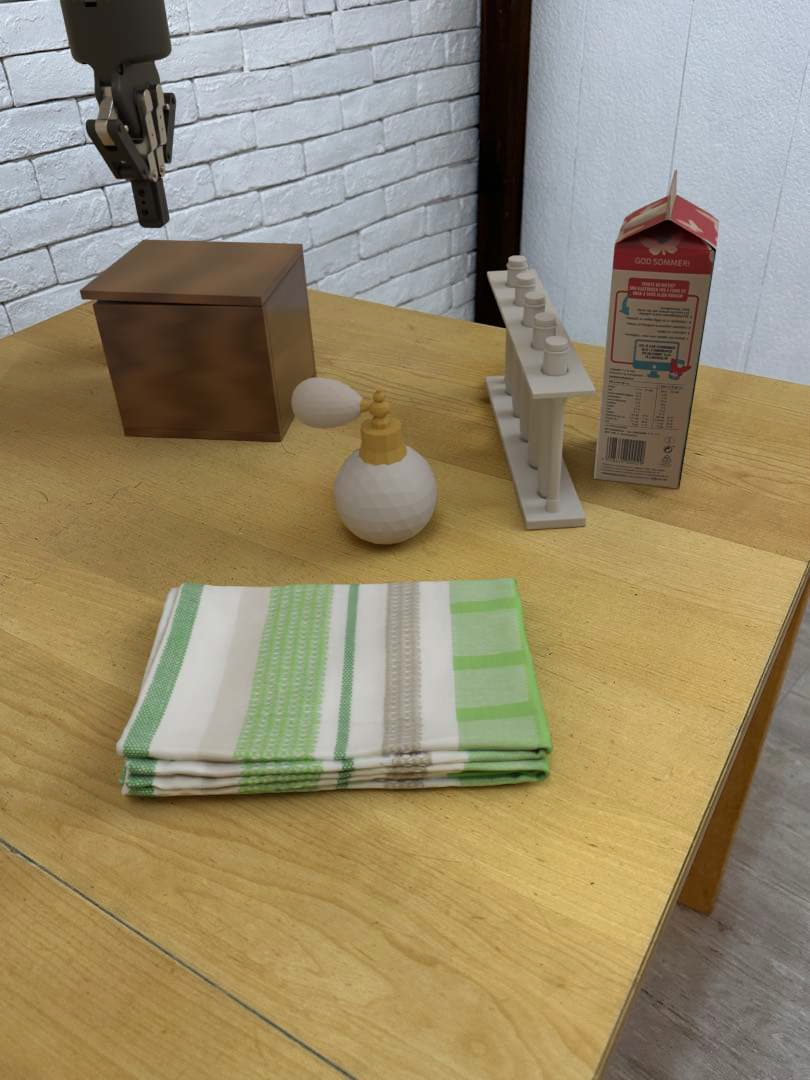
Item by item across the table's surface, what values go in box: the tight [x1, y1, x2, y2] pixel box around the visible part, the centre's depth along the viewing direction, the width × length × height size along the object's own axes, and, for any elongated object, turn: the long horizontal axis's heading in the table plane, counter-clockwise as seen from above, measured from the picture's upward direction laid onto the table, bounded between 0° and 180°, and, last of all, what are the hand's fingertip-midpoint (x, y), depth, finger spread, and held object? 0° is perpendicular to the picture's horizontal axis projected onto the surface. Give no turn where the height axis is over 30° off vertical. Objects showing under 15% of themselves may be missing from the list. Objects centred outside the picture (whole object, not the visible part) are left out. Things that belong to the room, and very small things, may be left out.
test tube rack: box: [484, 255, 597, 531], centre depth 73 cm, size 25×4×13 cm, turn 3°
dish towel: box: [115, 577, 554, 798], centre depth 53 cm, size 17×23×4 cm
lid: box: [79, 239, 304, 306], centre depth 79 cm, size 15×14×1 cm
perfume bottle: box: [291, 376, 438, 545], centre depth 64 cm, size 8×10×12 cm
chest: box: [92, 252, 317, 443], centre depth 83 cm, size 15×14×12 cm
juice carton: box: [593, 169, 720, 490], centre depth 68 cm, size 7×7×22 cm
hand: (155, 225), depth 77 cm, fingers closed
